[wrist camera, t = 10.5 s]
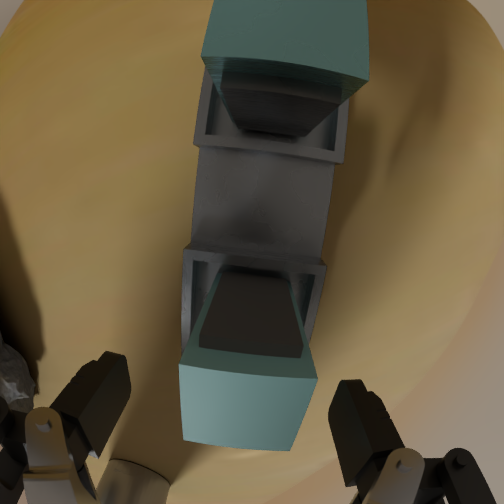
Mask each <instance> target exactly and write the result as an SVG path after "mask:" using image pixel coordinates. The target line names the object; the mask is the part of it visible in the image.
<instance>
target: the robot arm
mask: <svg viewBox="0 0 504 504" xmlns="http://www.w3.org/2000/svg"><path fill="white" fill-rule="evenodd" d="M130 394H131V382H130V376H129V371H128V365H127V360H126V357H125V356H124V355H121V354H117V353H113V352H109V351H105V352H104V353H103V354H102V356H101V357H100V358H99V359H98V361H95V360H92V361H90V362H89V363H87V364H85V365H83V366H82V367H81V368H80V370H79V371H78V372H77V373H76V376H74V377H73V378H72V379H71V381H70V383H68V384H67V385H66V387H65V388H64V389H63V390H62V392H61V393H60V394H59V395H58V397H57V398H56V399H55V401H54V402H53V403H52V404H51V406H50V407H49V408H48V407H38V408H35V409H33V410H31V411H30V412H29V413H25V412H20V411H16V410H12V409H10V407H9V405H8V403H7V402H6V400H5V399H4V398H2V397H1V396H0V444H1V446H2V447H3V449H2V450H1V452H0V504H17V502H18V500H19V498H20V496H21V494H22V491H23V490H24V489H25V494H26V498H27V503H28V504H166V500H167V496H168V492H169V488H170V485H169V483H168V482H167V481H166V480H165V479H164V478H163V477H161V476H160V475H158V474H156V473H155V472H153V471H151V470H149V469H147V468H144V467H142V466H140V465H137V464H134V463H131V462H127V461H123V460H116V459H114V460H110V461H109V462H108V465H107V467H106V469H105V471H104V473H103V475H102V478H101V480H100V482H99V484H98V486H97V488H96V490H95V487H94V484H93V481H92V479H91V476H90V473H89V470H88V467H87V464H86V462H85V460H86V458H87V457H88V455H90V456H93V457H95V458H98V459H99V457H100V455H101V453H102V451H103V449H104V447H105V445H106V443H107V441H108V439H109V437H110V435H111V433H112V431H113V429H114V427H115V425H116V423H117V421H118V419H119V417H120V415H121V413H122V412H123V410H124V408H125V406H126V404H127V402H128V400H129V398H130ZM328 421H329V425H330V429H331V432H332V436H333V440H334V443H335V447H336V451H337V455H338V459H339V462H340V466H341V470H342V474H343V478H344V482H345V486H346V487H350V486H356V485H357V489H358V492H357V493H356V494H355V496H354V497H353V499H352V501H351V502H350V504H445V502H444V499H443V497H445V496H446V498H447V501H448V503H449V504H496V501H495V499H494V497H493V495H492V493H491V491H490V488H489V486H488V484H487V482H486V480H485V478H484V476H483V474H482V472H481V470H480V468H479V467H478V465H477V463H476V461H475V459H474V457H473V456H472V454H471V453H470V452H469V451H467V450H465V449H462V448H454V449H452V450H450V451H449V452H448V453H447V454H446V455H445V456H444V457H443V458H423V457H422V456H421V455H420V453H418V452H417V451H415V450H413V449H410V448H405V446H404V444H403V442H402V440H401V438H400V436H399V434H398V432H397V430H396V428H395V426H394V424H393V422H392V420H391V419H390V416H389V414H388V412H387V411H386V408H385V406H384V404H383V402H382V400H381V399H380V398H379V397H378V396H377V395H376V394H375V393H374V392H372V391H369V392H367V390H366V387H365V385H364V383H363V382H362V380H360V379H355V380H341V381H340V382H339V385H338V387H337V390H336V392H335V395H334V397H333V400H332V402H331V405H330V407H329V412H328Z"/></svg>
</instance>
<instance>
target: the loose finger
mask: <svg viewBox="0 0 504 504" xmlns="http://www.w3.org/2000/svg"><path fill="white" fill-rule="evenodd" d="M317 380H318V377H317V374H316V370H315V366H314V363H313V359H312V355H311V352H310V348H309V345H308V341H307V337H306V334H305V330H304V327H303V323H302V320H301V316H300V313H299V310H298V306H297V303H296V299H295V296H294V293H293V289H292V286H291V283H290V282H289V281H287V280H286V279H285V278H276V277H267V276H259V275H251V274H243V273H235V272H227V271H223V273H217V275H216V277H215V279H214V282H213V284H212V286H211V288H210V291H209V293H208V295H207V298H206V300H205V302H204V305H203V307H202V309H201V312H200V314H199V316H198V319H197V321H196V324H195V326H194V328H193V331H192V333H191V336H190V338H189V340H188V343H187V345H186V348H185V350H184V352H183V355H182V357H181V360H180V362H179V383H180V402H181V416H182V429H183V439H184V440H186V441H191V442H197V443H203V444H209V445H216V446H223V447H232V448H241V449H254V450H272V451H290V449H291V447H292V445H293V442H294V440H295V438H296V435H297V433H298V430H299V428H300V425H301V423H302V420H303V418H304V415H305V413H306V410H307V408H308V405H309V402H310V400H311V397H312V394H313V391H314V389H315V386H316V383H317Z"/></svg>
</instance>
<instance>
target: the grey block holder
mask: <svg viewBox="0 0 504 504" xmlns="http://www.w3.org/2000/svg"><path fill="white" fill-rule="evenodd" d="M201 58H202V60H203V62H204V64H205V71H204V77H203V82H202V88H201V94H200V100H199V106H198V113H197V119H196V126H195V134H194V141H193V145H195V146H197V147H199V148H200V151H199V159H198V168H197V177H196V186H195V197H194V208H193V220H192V233H191V242H190V243H189V244H188V245H187V246H186V247H185V248H184V251H183V272H182V312H181V346H182V355H183V352H184V350H185V348H186V345H187V343H188V340H189V338H190V336H191V333H192V331H193V328H194V326H195V324H196V321H197V319H198V316H199V314H200V312H201V309H202V307H203V305H204V302H205V300H206V298H207V295H208V293H209V291H210V288H211V286H212V284H213V282H214V279H215V277H216V275H217V273H223V271H227V272H235V273H243V274H251V275H259V276H267V277H276V278H285V279H286V280H287V281H289V282H290V283H291V286H292V289H293V293H294V296H295V299H296V303H297V306H298V310H299V313H300V316H301V320H302V323H303V327H304V330H305V334H306V337H307V341H308V345H309V342H310V338H311V334H312V330H313V326H314V322H315V318H316V314H317V310H318V306H319V301H320V297H321V292H322V288H323V283H324V278H325V274H326V269H327V266H326V264H325V263H324V262H323V260H322V259H321V252H322V247H323V241H324V235H325V230H326V223H327V217H328V211H329V204H330V197H331V190H332V183H333V175H334V167H335V165H339V164H343V162H344V153H345V144H346V134H347V122H348V109H349V97H350V96H352V95H353V94H354V93H355V92H356V91H357V90H359V89H360V88H361V87H362V86H363V85H364V84H366V83H367V82H368V81H369V32H368V15H367V2H366V0H214V3H213V6H212V10H211V14H210V18H209V22H208V26H207V30H206V34H205V39H204V43H203V48H202V52H201Z"/></svg>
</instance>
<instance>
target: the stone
mask: <svg viewBox="0 0 504 504" xmlns="http://www.w3.org/2000/svg"><path fill="white" fill-rule="evenodd" d="M35 385H36V384H35V383H34V381H33V379H32V378H31V376H30V373H29V370H28V366H27V363H26V361H25V360H24V358H23V357H22V356H21V355H20V353H18V352H17V351H16V350H14V349H13V348H12V347H11V346H9V345H7V344H6V343H4V341H3V339H2V336H1V332H0V396H1V397H2V398H4V399H5V400H6V402H7V403H8V405H9V407H10V409H12V410H16V411H20V412H25V413H29V412H30V411H31V410H33V407H34V403H33V396H34V387H35Z"/></svg>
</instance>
